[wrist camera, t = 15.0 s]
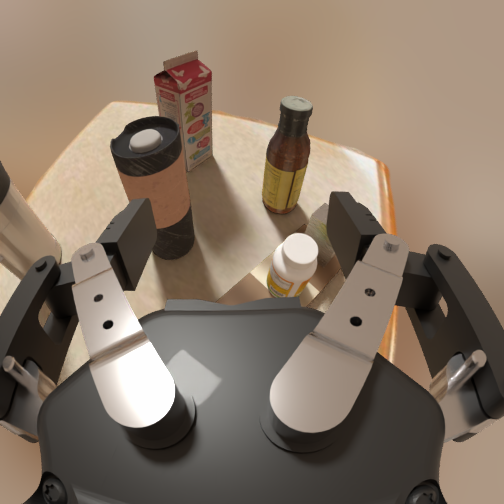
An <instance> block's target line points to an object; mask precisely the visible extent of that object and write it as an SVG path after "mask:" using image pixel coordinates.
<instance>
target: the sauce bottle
mask: <svg viewBox="0 0 504 504" xmlns="http://www.w3.org/2000/svg"><path fill="white" fill-rule="evenodd" d="M312 109H313V106H312V104H311V102H309V101H308V100H306V99H304V98H300V97H297V96H287V97H285V98H283V99H282V100H281V105H280V111H281V114H280V121H279V124H278V128H277V130H276V132H275V134H274V136H273V137H272V138H271V140H270V142H269V145H268V148H267V153H266V162H265V171H264V180H263V189H262V197H263V203H264V205H265V206H266V207H267V208H268V209H269V210H270V211H272V212H275V213H283V214H284V213H288V212H290V211H292V210H293V209H294V207H295V206H296V204H297V201H298V198H299V195H300V191H301V187H302V183H303V180H304V176H305V172H306V168H307V165H308V158H309V154H310V139H309V137H308V134H307V125H308V121H309V117H310V116H311V114H312Z"/></svg>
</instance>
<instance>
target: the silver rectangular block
mask: <svg viewBox="0 0 504 504" xmlns="http://www.w3.org/2000/svg"><path fill="white" fill-rule="evenodd" d="M328 208H329V205H327V204H326V203H324V204H323V205H322V206H321V207H320V208H319V209H318V210H316V211H315V212H314V213H313V214H312V216H311V218H310V221H309V223H308V226H307V228H306V230H305V233H304V234H306V235H308V236H310V237H311V238H312V239H313V240H314V241H315V242H316V244H317V246H318V256H317V262H318V263H319V264H320V265H321V266H322V267H323V268H324V267H325V265H326V264H327V263H328V262H329V261H330V260H331V259H332V258H333V257H334V256H335V252H334V250H333V247H332V245H331V243H330V241H329V238H328V236H327V230H326V223H327V215H328Z"/></svg>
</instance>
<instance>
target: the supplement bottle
mask: <svg viewBox="0 0 504 504" xmlns="http://www.w3.org/2000/svg"><path fill="white" fill-rule="evenodd" d="M317 256H318V246H317V244H316V242H315V241H314V240H313V239H312V238H311V237H310V236H308V235H306V234H302V233H295V234H292V235H290V236H288V237H287V238H286V240H285V241H284V243H282V244H280V245H279V246H278V247H277V248H276V250H275V252H274V255H273V258H272V262H271V265H270V268H269V272H268V275H267V280H266V283H267V287H268V290H269V291H270V293H271V294H272V295H273V296H275V297H276V298H277V297H298V296H299V295H300V294H301V293H302V291H303V290H304V288H305V287H306V285H307V283H308V282H309V281H310V279H311V277H312V276H313V274H314V273H315V271H316V268H317Z"/></svg>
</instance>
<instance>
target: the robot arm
mask: <svg viewBox="0 0 504 504" xmlns="http://www.w3.org/2000/svg"><path fill="white" fill-rule="evenodd" d="M326 230H327V236H328V238H329V241H330V243H331V245H332V247H333V250H334V252H335V254H336V257H337V259H338V262H339V264H340V266H341V269H342V271H343V274H344V276H345V279H346V281H345V283H344V284H343V286H342V288H341V289H340V291H339V292H338V294H337V296H336V297H335V299H334V300H333V302H332V303H331V305H330V307H329V308H328V310H327V311H326V313H323V312H321V311H318V310H315V309H312V308H308V307H303V306H301V304H300V299H299V297H277V298H264V299H259V300H255V301H251V302H246V303H242V304H237V305H225V304H220V303H214V302H209V301H204V300H199V299H167V302H166V306H165V309H162V310H158V311H155V312H152V313H150V314H147V315H145V316H143V317H142V318H140V319H138V320H137V318H136V316H135V314H134V312H133V310H132V308H131V306H130V304H129V302H128V300H127V298H126V296H125V294H124V291H135V289H136V287H137V284H138V282H139V279H140V277H141V275H142V272H143V270H144V267H145V265H146V263H147V260H148V258H149V256H150V254H151V251H152V249H153V247H154V245H155V243H156V240H157V228H156V224H155V219H154V215H153V210H152V206H151V202H150V200H149V198H140V199H132V200H131V202H130V203H129V204H128V205H127V207H126V208H125V209H124V210H123V211H122V212H120V213H119V214H117V215H116V216H115V217H114V218H113V219H112V221H111V222H110V224H109V225H108V226H107V227H106V229H105V230H104V232H103V233H102V234H101V236H100V237H99V238H98V240H97V241H96V243H90V244H87V245H85V246H83V247H81V248H79V249H78V250H77V251H76V252H75V253H74V254H73V256H72V258H71V262H68V263H65V264H61V265H59V262H60V259H61V247H60V245H59V243H58V241H57V240H56V239H55V238H54V236H53V235H52V234H51V233H50V232H49V231H48V229H47V228H46V227H45V226H44V224H43V223H42V222H41V221H40V219H39V218H38V217H37V215H36V214H35V213H34V211H33V210H32V209H31V207H30V206H29V205H28V203H27V202H26V201H25V199H24V198H23V197H22V195H21V194H20V192H19V191H18V189H17V188H16V186H15V185H14V183H13V182H12V180H11V179H10V177H9V176H8V174H7V172H6V171H5V169H4V167H3V166H2V163H1V161H0V263H1V264H2V265H3V266H4V267H6V268H7V269H8V270H9V271H10V272H12V273H13V274H14V275H15V276H16V277H18V278H19V279H20V280H21V282H20V284H19V285H18V287H17V288H16V290H15V292H14V293H13V295H12V297H11V298H10V300H9V302H8V303H7V305H6V307H5V309H4V310H3V312H2V314H1V316H0V425H1V426H3V427H4V428H6V429H7V430H9V431H10V432H12V433H14V434H17V435H18V436H20V437H22V438H24V439H25V440H27V441H29V442H32V443H36V442H39V444H40V452H41V462H42V477H41V481H40V484H39V487H38V489H37V490H36V491H35V493H34V494H33V495H32V496H31V497H30V498H29V499H28V500H27V501H26V502H24V503H23V504H447V503H446V501H445V499H444V497H443V495H442V492H441V489H440V486H439V467H440V458H441V452H442V447H443V443H445V442H448V441H450V440H453V441H456V442H463V441H465V440H467V439H469V438H471V437H472V436H474V435H476V434H477V433H479V432H480V431H482V430H483V429H485V428H487V427H488V426H490V425H491V424H493V423H494V422H496V421H497V420H499V419H500V418H501V417H503V416H504V330H503V328H502V326H501V324H500V322H499V320H498V319H497V317H496V315H495V313H494V312H493V310H492V308H491V306H490V305H489V303H488V301H487V300H486V298H485V297H484V295H483V293H482V292H481V290H480V289H479V287H478V286H477V284H476V283H475V281H474V279H473V278H472V277H471V275H470V274H469V272H468V271H467V270H466V268H465V267H464V265H463V264H462V262H461V261H460V260H459V258H458V257H457V256H456V254H455V253H454V252H453V251H451V250H450V249H448V248H447V247H445V246H442V245H438V244H433V245H430V246H429V247H428V250H427V252H426V255H424V254H420V253H415V252H410V251H409V246H408V245H407V243H406V242H405V241H404V240H402V239H401V238H399V237H397V236H395V235H391V234H387V233H386V232H385V231H384V229H383V228H382V226H381V225H380V224H379V222H378V221H376V218H375V217H374V216H372V213H371V212H370V211H369V209H368V208H367V207H365V206H364V205H362V204H361V203H357V202H356V201H355V200H354V198H353V197H352V196H351V195H350V193H349V192H331V194H330V200H329V208H328V215H327V223H326ZM442 296H443V298H444V299H445V301H446V303H447V306H448V314H447V317H445V315H444V313H443V311H442V309H441V307H440V305H439V304H438V303H439V301H440V300H441V297H442ZM44 301H45V303H46V304H47V306H48V307H49V309H50V310H51V313H50V315H49V317H48V319H47V321H46V323H45V326H44V328H42V327H41V325H40V323H39V320H38V314H39V311H40V309H41V307H42V305H43V303H44ZM394 305H397V306H403V307H406V310H407V313H408V315H409V317H410V320H411V322H412V325H413V327H414V330H415V332H416V335H417V337H418V340H419V343H420V345H421V348H422V351H423V353H424V356H425V359H426V362H427V365H428V368H429V371H430V374H431V377H432V381H431V383H430V389H429V392H430V393H429V392H428V391H427V390H426V389H424V388H423V387H422V386H421V385H419V384H418V383H417V382H415V381H414V380H413V379H411V378H410V377H409V376H408V375H406V374H405V373H404V372H402V371H401V370H400V369H398V368H397V367H396V366H395V365H393V364H392V363H391V362H389V361H388V360H387V359H386V358H384V357H383V356H382V355H380V354H379V353H378V352H377V350H378V348H379V345H380V343H381V340H382V338H383V335H384V333H385V330H386V328H387V325H388V322H389V319H390V317H391V314H392V311H393V308H394ZM78 322H80V325H81V329H82V333H83V336H84V340H85V343H86V347H87V350H88V353H89V356H90V360H88V361H87V362H86V363H85V364H84V365H82V366H81V367H80V368H79V369H78V370H77V371H75V372H74V373H73V374H72V375H71V376H69V377H68V378H67V379H66V380H65V381H64V382H63V383H61V384H60V385H59V386H58V387H57V388H56V386H57V382H58V379H59V376H60V372H61V369H62V366H63V363H64V360H65V357H66V354H67V351H68V348H69V346H70V343H71V340H72V337H73V335H74V332H75V330H76V327H77V325H78Z"/></svg>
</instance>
